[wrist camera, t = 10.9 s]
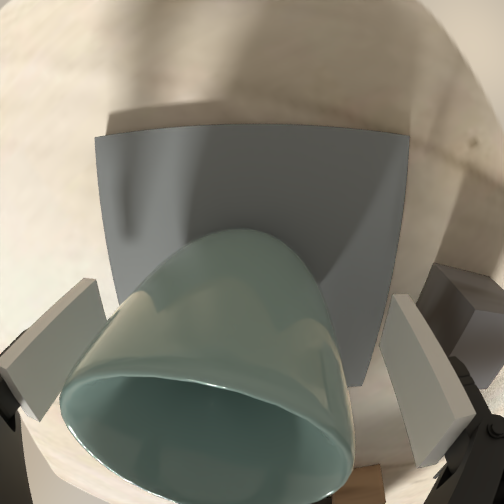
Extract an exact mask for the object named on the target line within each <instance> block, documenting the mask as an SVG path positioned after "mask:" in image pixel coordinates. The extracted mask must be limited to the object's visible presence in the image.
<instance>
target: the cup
mask: <svg viewBox="0 0 504 504" xmlns="http://www.w3.org/2000/svg"><path fill="white" fill-rule="evenodd" d="M59 400H60V409H61V415H62V417H63V419H64V422H65V424H66V426H67V428H68V429H69V431H70V432H71V433H72V435H73V436H74V437H75V439H76V440H77V441H78V442H79V443H80V444H81V445H82V446H83V448H84V449H85V450H86V451H87V452H88V453H89V454H90V455H92V456H93V457H94V458H95V459H96V460H97V461H99V462H100V463H101V464H102V465H104V466H105V467H106V468H108V469H109V470H110V471H112V472H113V473H115V474H116V475H118V476H119V477H121V478H122V479H124V480H126V481H128V482H129V483H131V484H133V485H135V486H137V487H138V488H140V489H142V490H145V491H147V492H149V493H151V494H154V495H156V496H158V497H161V498H163V499H166V500H169V501H172V502H175V503H178V504H311V503H314V502H317V501H320V500H322V499H324V498H326V497H328V496H330V495H332V494H334V493H335V492H336V491H337V490H339V489H340V488H341V487H342V486H343V485H344V484H345V483H346V481H347V480H348V478H349V476H350V475H351V473H352V471H353V469H354V461H355V449H356V445H355V430H354V421H353V414H352V408H351V401H350V396H349V390H348V385H347V379H346V374H345V369H344V364H343V359H342V355H341V350H340V346H339V342H338V338H337V334H336V331H335V327H334V324H333V321H332V318H331V314H330V311H329V308H328V305H327V302H326V300H325V297H324V295H323V292H322V290H321V288H320V286H319V284H318V282H317V280H316V279H315V277H314V275H313V273H312V272H311V270H310V268H309V267H308V266H307V264H306V263H305V262H304V261H303V259H302V258H301V257H300V256H299V255H298V254H297V253H296V251H295V250H294V249H292V248H291V247H290V246H289V245H287V244H286V243H285V242H283V241H282V240H281V239H279V238H277V237H274V236H272V235H270V234H268V233H266V232H263V231H259V230H254V229H249V228H231V229H225V230H220V231H215V232H212V233H209V234H207V235H204V236H201V237H199V238H197V239H194V240H192V241H191V242H189V243H187V244H186V245H184V246H182V247H181V248H179V249H178V250H176V251H175V252H173V253H172V254H170V255H169V256H168V257H167V258H166V259H164V260H163V261H162V262H161V263H160V264H159V265H158V266H157V267H156V268H155V269H154V270H153V271H152V272H151V273H150V274H149V275H148V276H147V277H146V278H145V279H144V280H143V281H142V282H141V283H140V284H139V285H138V286H137V287H136V288H135V289H134V290H133V291H132V292H131V293H130V294H129V296H128V297H127V298H126V299H125V300H124V301H123V302H122V304H121V305H120V306H119V307H118V308H117V310H116V311H115V312H114V313H113V314H112V316H111V317H110V318H109V319H108V321H107V322H106V323H105V324H104V326H103V327H102V328H101V329H100V331H99V332H98V333H97V334H96V336H95V337H94V338H93V340H92V341H91V342H90V343H89V345H88V346H87V347H86V349H85V350H84V351H83V353H82V354H81V356H80V357H79V359H78V360H77V361H76V363H75V364H74V366H73V367H72V369H71V371H70V373H69V374H68V376H67V378H66V380H65V383H64V386H63V388H62V391H61V394H60V397H59Z"/></svg>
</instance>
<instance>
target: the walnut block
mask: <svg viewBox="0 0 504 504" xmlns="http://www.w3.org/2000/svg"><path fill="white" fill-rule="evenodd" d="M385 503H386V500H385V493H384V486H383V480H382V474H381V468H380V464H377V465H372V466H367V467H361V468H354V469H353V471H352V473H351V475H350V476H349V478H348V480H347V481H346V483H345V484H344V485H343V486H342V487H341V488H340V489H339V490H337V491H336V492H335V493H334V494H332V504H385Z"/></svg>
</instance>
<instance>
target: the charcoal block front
mask: <svg viewBox="0 0 504 504" xmlns="http://www.w3.org/2000/svg"><path fill="white" fill-rule="evenodd" d="M416 306H417V308H418V309H419V311H420V313H421V314H422V316H423V317H424V319H425V321H426V322H427V324H428V326H429V327H430V329H431V330H432V332H433V334H434V335H435V337H436V339H437V341H438V342H439V344H440V346H441V347H442V349H443V351H444V353H445V354H446V356H447V357H451V356H456V357H457V358H458V359H459V360H460V361H461V362H462V363H464V364H465V366H466V368H467V369H468V371H469V373H470V377H471V376H472V378H473V380H474V382H475V385H477V387H478V389H487V388H488V386H489V385H490V384H491V382H492V381H493V380H494V378H495V377H496V375H497V374H498V373H499V371H500V370H501V368H502V367H503V365H504V290H503V289H502V288H501V287H500V286H499V285H498V284H497V283H496V282H495V281H493V280H492V279H491V278H490V277H488V276H484V275H480V274H476V273H472V272H469V271H465V270H461V269H457V268H453V267H449V266H445V265H441V264H437V263H433V265H432V268H431V270H430V273H429V275H428V278H427V280H426V283H425V285H424V287H423V290H422V292H421V294H420V297H419V299H418V301H417V303H416Z"/></svg>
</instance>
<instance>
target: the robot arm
mask: <svg viewBox="0 0 504 504" xmlns="http://www.w3.org/2000/svg"><path fill="white" fill-rule="evenodd" d="M106 322H107V320H106V316H105V312H104V309H103V305H102V301H101V297H100V293H99V289H98V285H97V281H96V279H89V278H83V279H82V280H81V281H80V282H79V283H77V284H76V285H75V286H74V287H73V288H72V289H71V290H70V291H68V292H67V293H66V294H65V295H64V296H63V297H62V298H61V299H59V300H58V301H57V302H56V303H55V304H54V305H53V306H52V307H51V308H50V309H49V310H48V311H46V312H45V313H44V314H43V315H42V316H41V317H40V318H39V319H38V320H37V321H36V322H35V323H34V324H33V325H32V326H31V327H30V328H28V329H26V330H25V331H23V332H22V333H21V334H20V335H19V336H18V337H17V338H16V340H14V341H13V342H12V343H11V344H10V346H8V347H7V348H6V349H5V350H4V351H3V352H2V353H1V354H0V504H33V501H32V497H31V493H30V488H29V483H28V477H27V472H26V466H25V459H24V452H23V443H22V434H21V420H20V414H19V412H18V411H17V409H18V408H19V407H20V406H21V408H22V409H23V411H24V412H25V413H26V415H27V416H29V417H31V418H33V419H34V420H36V421H39V422H40V421H41V420H42V418H43V417H44V415H45V414H46V412H47V411H48V409H49V408H50V406H51V405H52V403H53V402H54V401H55V399H56V398H57V396H58V395H59V393H60V392H61V391H62V388H63V386H64V383H65V380H66V378H67V376H68V374H69V373H70V371H71V369H72V367H73V366H74V364H75V363H76V361H77V360H78V359H79V357H80V356H81V354H82V353H83V351H84V350H85V349H86V347H87V346H88V345H89V343H90V342H91V341H92V340H93V338H94V337H95V336H96V334H97V333H98V332H99V331H100V329H101V328H102V327H103V326H104V324H105V323H106ZM379 347H380V350H381V353H382V355H383V358H384V361H385V364H386V367H387V370H388V373H389V376H390V378H391V381H392V385H393V388H394V391H395V394H396V397H397V400H398V403H399V406H400V410H401V413H402V416H403V420H404V423H405V426H406V430H407V433H408V437H409V441H410V444H411V448H412V452H413V456H414V460H415V464H416V468H422V467H426V466H430V465H434V464H437V463H438V462H439V460H440V459H441V458H442V457H443V456H444V455H445V458H446V461H447V463H446V464H445V465H444V466H443V467H442V468H441V469H440V471H439V472H438V473H437V474H436V475H435V476H434V477H433V478H434V479H436V478H437V477H438V476H439V477H438V479H437V480H436V482H435V484H434V486H433V488H432V490H431V492H430V493H429V495H428V497H427V499H426V500H425V502H424V504H504V418H503V417H502V416H500V415H495V414H491V412H490V410H489V408H488V406H487V404H486V402H485V400H484V398H483V396H482V395H481V393H480V391H479V389H478V387H477V385H475V382H474V380H473V378H472V376H471V377H470V373H469V371H468V369H467V368H466V366H465V364H464V363H462V362H461V361H460V360H459V359H458V358H457V357H456V356H451V357H447V356H446V354H445V353H444V351H443V349H442V347H441V346H440V344H439V342H438V341H437V339H436V337H435V335H434V334H433V332H432V330H431V329H430V327H429V326H428V324H427V322H426V321H425V319H424V317H423V316H422V314H421V313H420V311H419V309H418V308H417V306H416V305H415V303H414V302H413V300H412V299H411V297H410V296H409V294H392V298H391V303H390V307H389V311H388V315H387V318H386V322H385V326H384V330H383V333H382V337H381V340H380V344H379ZM311 504H332V498H324V499H322V500H320V501H317V502H314V503H311Z"/></svg>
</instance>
